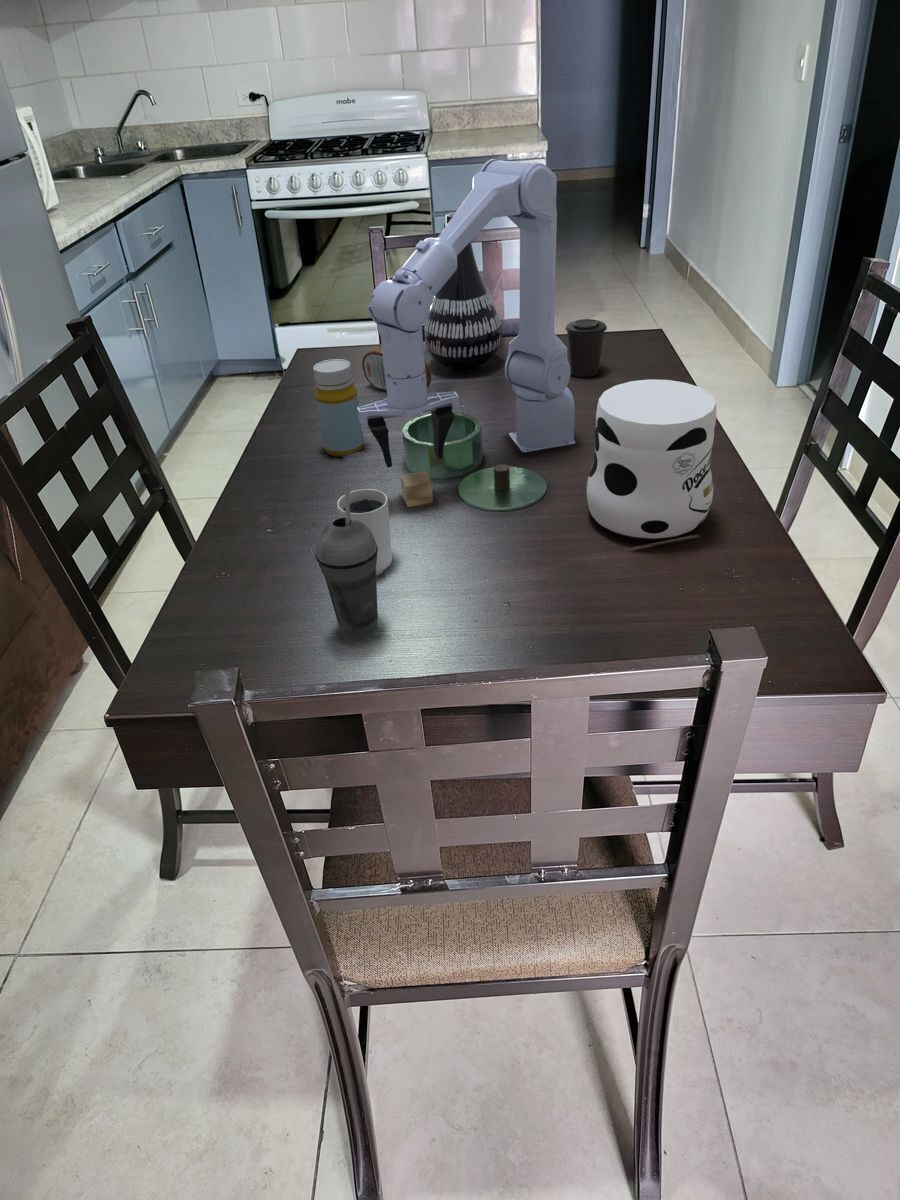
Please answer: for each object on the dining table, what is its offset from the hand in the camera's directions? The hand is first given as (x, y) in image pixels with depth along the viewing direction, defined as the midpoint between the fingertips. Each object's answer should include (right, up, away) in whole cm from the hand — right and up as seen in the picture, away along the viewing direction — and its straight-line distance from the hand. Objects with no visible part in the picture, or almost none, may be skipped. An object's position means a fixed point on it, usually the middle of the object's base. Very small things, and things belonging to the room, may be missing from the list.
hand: (413, 459), depth 124 cm
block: (0, -6, +4) cm, 7 cm away
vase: (+8, +28, +50) cm, 58 cm away
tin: (-5, +20, +41) cm, 46 cm away
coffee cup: (+32, +25, +42) cm, 59 cm away
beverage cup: (-6, -25, -21) cm, 33 cm away
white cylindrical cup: (-5, -16, -9) cm, 19 cm away
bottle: (-13, +5, +21) cm, 25 cm away
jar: (+4, +2, +14) cm, 15 cm away
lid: (+13, -4, +4) cm, 15 cm away
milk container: (+34, -9, -4) cm, 35 cm away
